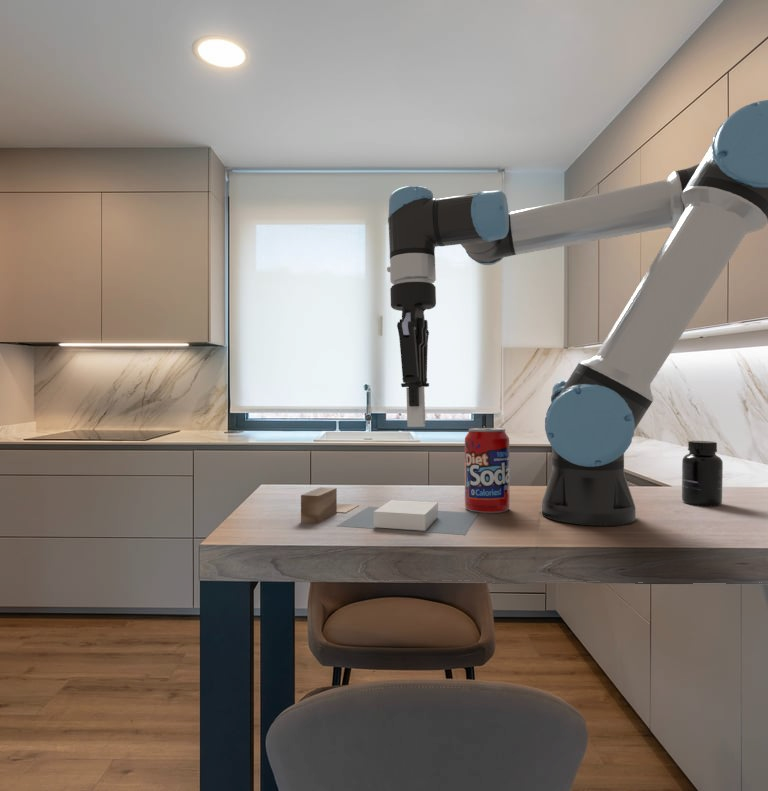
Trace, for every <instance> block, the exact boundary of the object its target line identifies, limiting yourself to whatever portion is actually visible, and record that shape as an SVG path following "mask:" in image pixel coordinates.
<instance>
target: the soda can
mask: <svg viewBox="0 0 768 791" xmlns="http://www.w3.org/2000/svg"><path fill="white" fill-rule="evenodd" d="M464 507H465V509H466V510H468V511H469V512H472V513H479V514H500V513H501V514H502V513H505V512H507V511H509V509H510V437H509V436H508V435H507V433H506V428H498V427H496V428H495V427H473V428H472V427H471V428H468V433H467V434H466V436H465V437H464Z"/></svg>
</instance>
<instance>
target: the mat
mask: <svg viewBox="0 0 768 791" xmlns="http://www.w3.org/2000/svg"><path fill="white" fill-rule="evenodd" d="M380 507H381V506H380ZM380 507H379V506H378V507H377V506H367V507H365V508H364V509H362V510H361V511H359V512H358V513H356V514H354V515H352V516H350V517H348V518H347V519H346V520H344V521H343V522H341V523H339V524H337V525H336V527H342V528H356V529H357V528H358V529H373V530H385V531H399V532H400V531H401V532H412V533H413V532H417V533H429V534H431V533H432V534H443V535H457V536H460V535H461V536H466V535H467V533H468V532H469V530H470V528H471V526H472V525H473V524H474V522H475V520H476V518H477V517H478V515H479V514H480V513H478V512H471V511H469V512H468V511H467V512H466V511H452V510H438V517H437V518H436V520H435V521H434V522H433V523H432V524H431V525H430V526H429V527H428V528H427V529H426V530H425V531H423V530H407V529H393V528H378V527H374V511H375V510H377V509H378V508H380Z"/></svg>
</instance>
